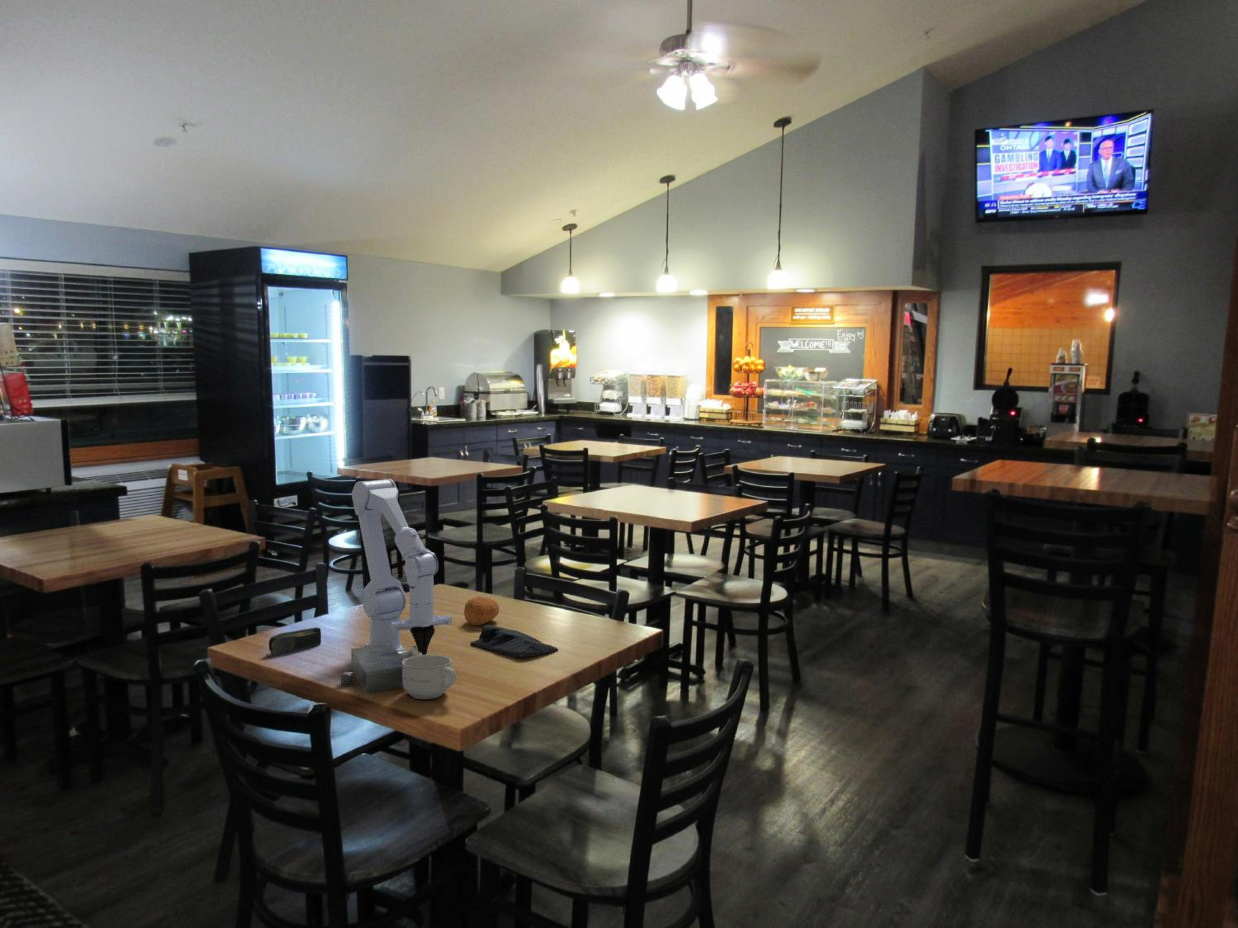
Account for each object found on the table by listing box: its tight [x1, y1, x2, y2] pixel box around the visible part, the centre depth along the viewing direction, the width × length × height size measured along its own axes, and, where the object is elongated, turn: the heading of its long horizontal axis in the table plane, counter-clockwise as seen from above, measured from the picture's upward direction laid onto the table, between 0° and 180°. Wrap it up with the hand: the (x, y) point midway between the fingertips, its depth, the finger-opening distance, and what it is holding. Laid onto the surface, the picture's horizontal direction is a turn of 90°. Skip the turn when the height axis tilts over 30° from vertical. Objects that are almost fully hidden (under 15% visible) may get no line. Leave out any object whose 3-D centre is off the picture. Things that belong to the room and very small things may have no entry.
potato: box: [463, 595, 500, 627], centre depth 244 cm, size 9×11×8 cm
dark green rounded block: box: [265, 627, 322, 658], centre depth 218 cm, size 5×3×15 cm
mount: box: [350, 644, 404, 694], centre depth 199 cm, size 18×10×5 cm, turn 27°
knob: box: [398, 645, 418, 658], centre depth 206 cm, size 4×8×4 cm, turn 118°
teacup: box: [402, 654, 457, 700], centre depth 187 cm, size 14×11×8 cm
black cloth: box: [470, 624, 559, 659], centre depth 222 cm, size 15×22×5 cm
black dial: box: [339, 671, 354, 687], centre depth 194 cm, size 3×3×3 cm
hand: (422, 655), depth 209 cm, fingers closed
